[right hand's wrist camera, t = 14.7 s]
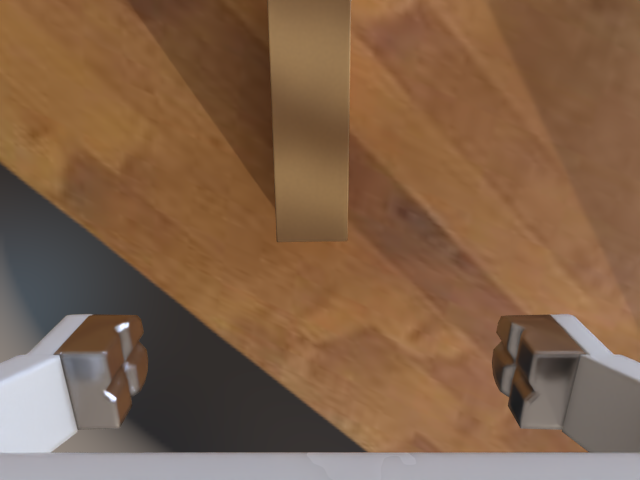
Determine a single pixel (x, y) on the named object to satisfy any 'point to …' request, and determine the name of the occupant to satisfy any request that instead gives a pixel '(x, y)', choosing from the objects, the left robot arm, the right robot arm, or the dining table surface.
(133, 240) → the dining table surface
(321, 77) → the beam
